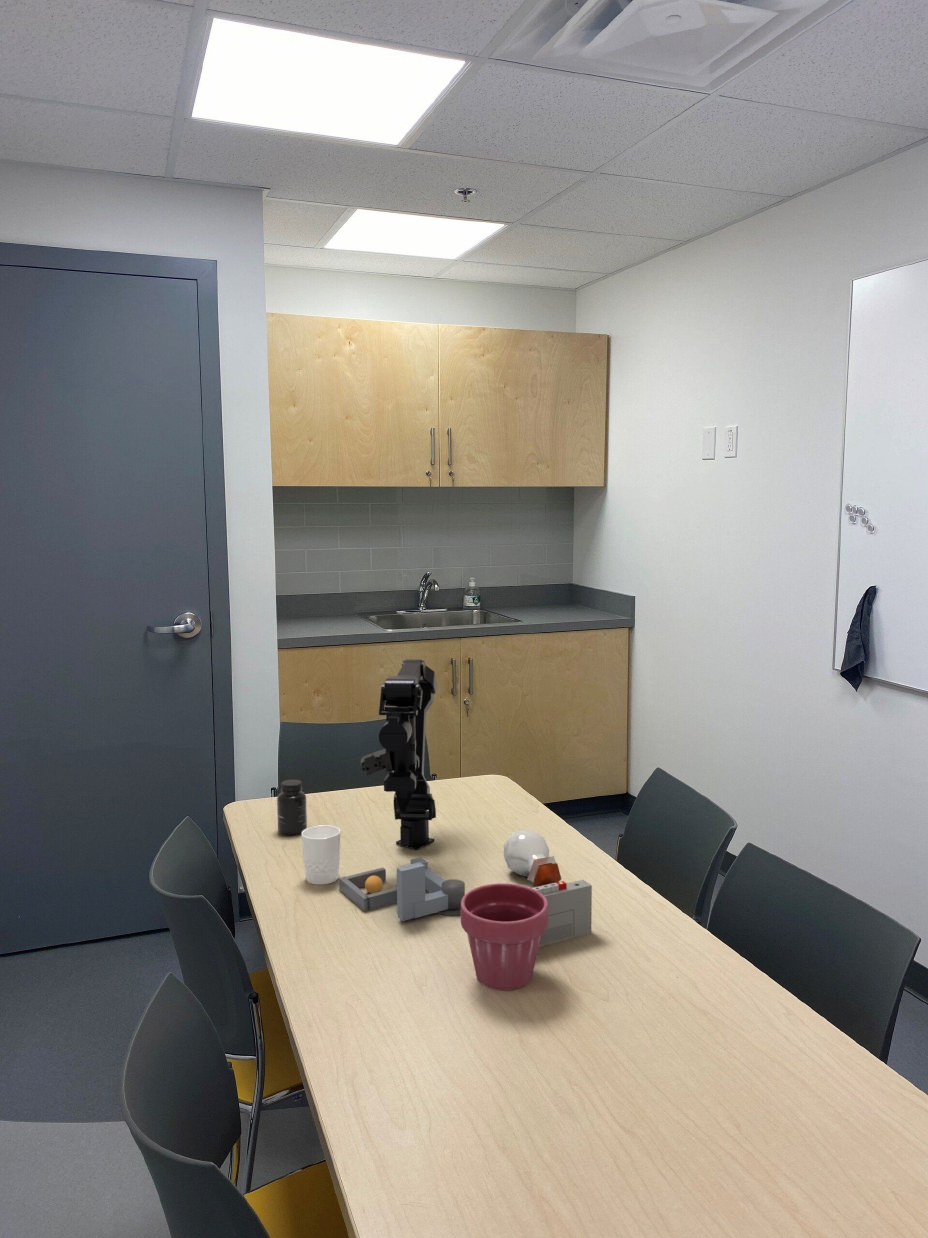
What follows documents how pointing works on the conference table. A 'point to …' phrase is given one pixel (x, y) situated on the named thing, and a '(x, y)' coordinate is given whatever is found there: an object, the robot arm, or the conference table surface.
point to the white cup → (321, 854)
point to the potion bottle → (531, 857)
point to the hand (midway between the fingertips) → (403, 811)
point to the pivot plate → (451, 912)
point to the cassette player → (567, 910)
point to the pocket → (365, 902)
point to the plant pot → (504, 932)
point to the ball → (373, 884)
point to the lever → (413, 891)
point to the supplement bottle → (291, 808)
